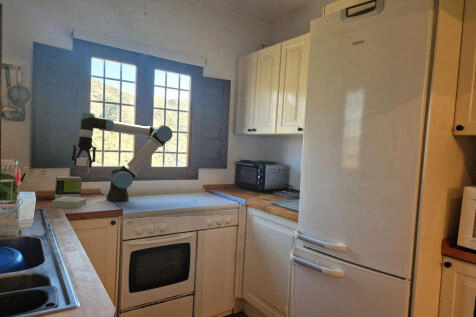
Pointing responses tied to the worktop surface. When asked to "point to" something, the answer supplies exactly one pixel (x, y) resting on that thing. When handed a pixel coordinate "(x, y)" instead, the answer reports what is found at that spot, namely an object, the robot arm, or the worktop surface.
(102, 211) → the worktop surface
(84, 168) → the block
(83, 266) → the worktop surface
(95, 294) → the worktop surface
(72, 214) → the worktop surface
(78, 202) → the stand
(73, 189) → the tea box
